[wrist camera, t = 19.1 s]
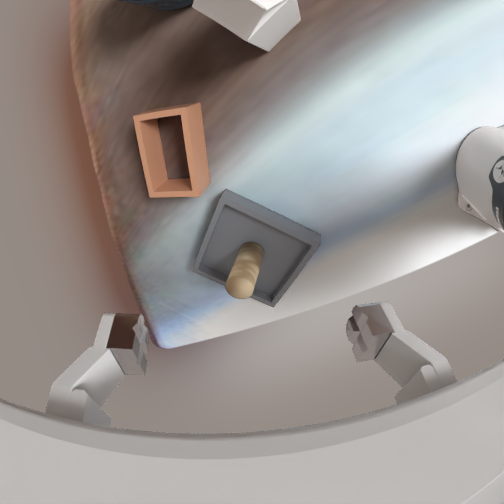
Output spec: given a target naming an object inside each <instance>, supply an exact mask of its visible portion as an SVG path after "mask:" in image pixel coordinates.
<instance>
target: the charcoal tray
mask: <svg viewBox="0 0 504 504" xmlns="http://www.w3.org/2000/svg"><path fill="white" fill-rule="evenodd" d="M246 242H255V243H258V244H259V245H260V246H261V247H262V248H263V250H264V257H263V260H262V263H261V267H260V270H259V274H258V277H257V280H256V284H255V287H254V290H253V294H252V295H251V296H250V297H251V298H253V299H255V300H257V301H260V302H262V303H264V304H267V305H269V306H271V307H274V306H275V305H276V304H277V302H278V301H279V300H280V298H281V297H282V296H283V294H284V293H285V292H286V290H287V289H288V288H289V286H290V285H291V284H292V282H293V281H294V280H295V278H296V277H297V276H298V274H299V273H300V272H301V270H302V269H303V268H304V266H305V265H306V263H307V262H308V261H309V259H310V258H311V257H312V255H313V254H314V252H315V251H316V250H317V248H318V247H319V246H320V234H318V233H316V232H314V231H312V230H310V229H308V228H306V227H304V226H302V225H300V224H298V223H296V222H294V221H292V220H290V219H288V218H286V217H284V216H282V215H280V214H278V213H276V212H274V211H272V210H270V209H268V208H266V207H264V206H261V205H259V204H257V203H255V202H253V201H251V200H249V199H247V198H245V197H242V196H240V195H238V194H236V193H234V192H232V191H229V190H227V189H226V190H225V191H224V193H223V194H222V196H221V197H220V200H219V202H218V205H217V207H216V210H215V212H214V215H213V217H212V220H211V222H210V225H209V227H208V230H207V232H206V235H205V237H204V240H203V243H202V245H201V248H200V250H199V253H198V256H197V258H196V261H195V264H194V266H193V269H192V271H194V272H196V273H198V274H200V275H202V276H204V277H206V278H209V279H211V280H213V281H215V282H217V283H220V284H222V285H224V286H225V284H226V282H227V279H228V277H229V274H230V272H231V269H232V267H233V265H234V262H235V260H236V257H237V255H238V253H239V250H240V248H241V246H242V245H243V244H244V243H246Z"/></svg>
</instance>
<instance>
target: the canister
mask: <svg viewBox="0 0 504 504" xmlns="http://www.w3.org/2000/svg"><path fill="white" fill-rule="evenodd" d="M119 1H128V2H130V3H134V4H144V5H147V6H149V7H152V8H155V9H159V10H176V9H181V8H185V7H188V6H190V5H192V4H193V2H194V0H119Z"/></svg>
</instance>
